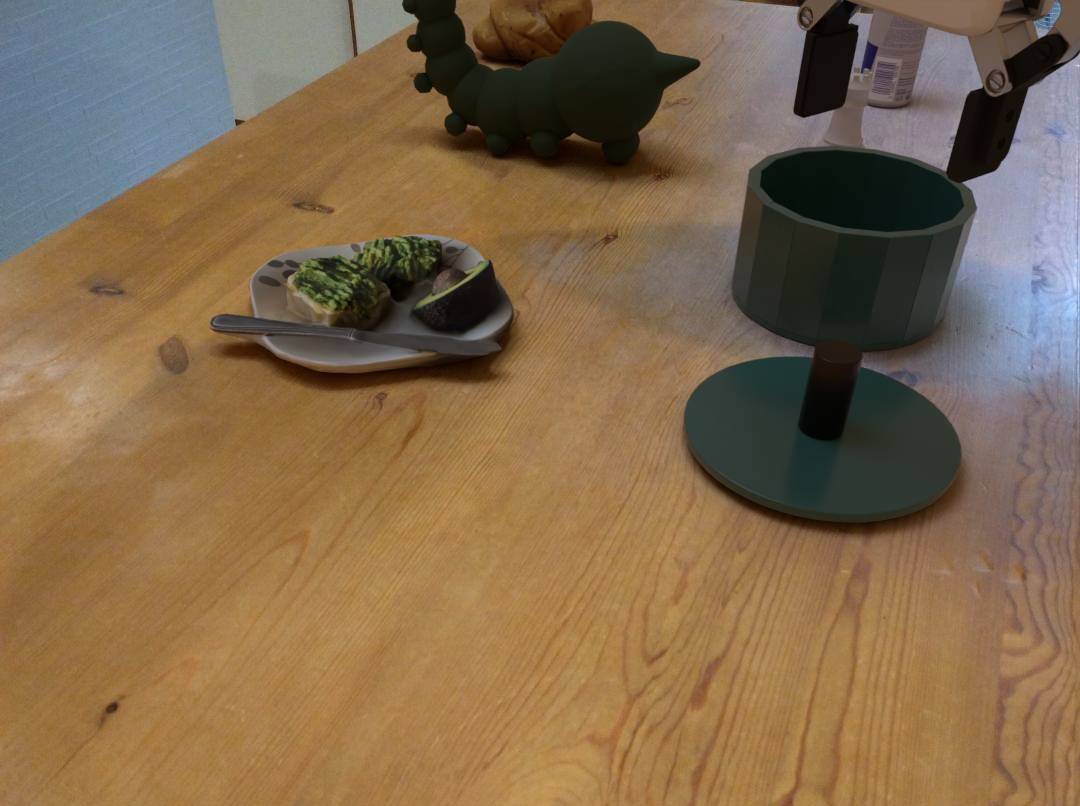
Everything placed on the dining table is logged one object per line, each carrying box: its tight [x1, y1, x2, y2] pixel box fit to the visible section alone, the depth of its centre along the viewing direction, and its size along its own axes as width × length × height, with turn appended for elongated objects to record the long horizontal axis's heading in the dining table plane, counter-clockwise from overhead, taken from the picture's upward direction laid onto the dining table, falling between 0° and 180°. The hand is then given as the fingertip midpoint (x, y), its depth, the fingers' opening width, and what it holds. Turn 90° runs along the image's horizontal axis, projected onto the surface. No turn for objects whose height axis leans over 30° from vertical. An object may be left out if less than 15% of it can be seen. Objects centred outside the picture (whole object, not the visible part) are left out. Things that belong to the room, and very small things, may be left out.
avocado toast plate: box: [209, 233, 515, 374], centre depth 69 cm, size 19×18×5 cm
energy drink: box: [859, 9, 929, 109], centre depth 103 cm, size 5×5×12 cm
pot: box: [731, 146, 978, 352], centre depth 72 cm, size 15×15×8 cm
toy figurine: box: [401, 0, 701, 165], centre depth 88 cm, size 9×19×25 cm
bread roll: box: [471, 0, 594, 63], centre depth 112 cm, size 13×10×8 cm
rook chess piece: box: [815, 66, 874, 148], centre depth 91 cm, size 4×4×8 cm
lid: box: [682, 340, 962, 523], centre depth 59 cm, size 16×16×6 cm
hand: (890, 141), depth 52 cm, fingers open, 9 cm apart
